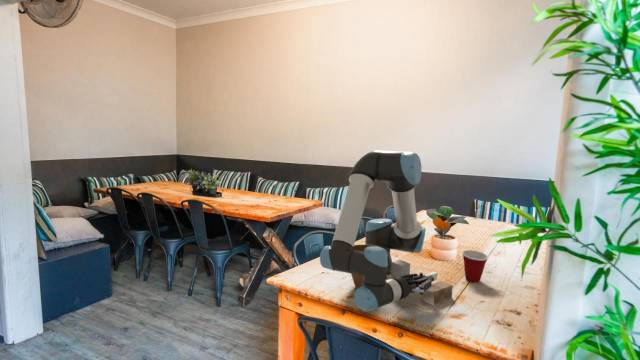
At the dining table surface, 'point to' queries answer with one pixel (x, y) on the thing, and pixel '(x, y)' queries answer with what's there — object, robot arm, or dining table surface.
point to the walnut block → (438, 293)
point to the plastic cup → (474, 265)
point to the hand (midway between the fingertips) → (435, 275)
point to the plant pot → (357, 278)
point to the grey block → (400, 268)
